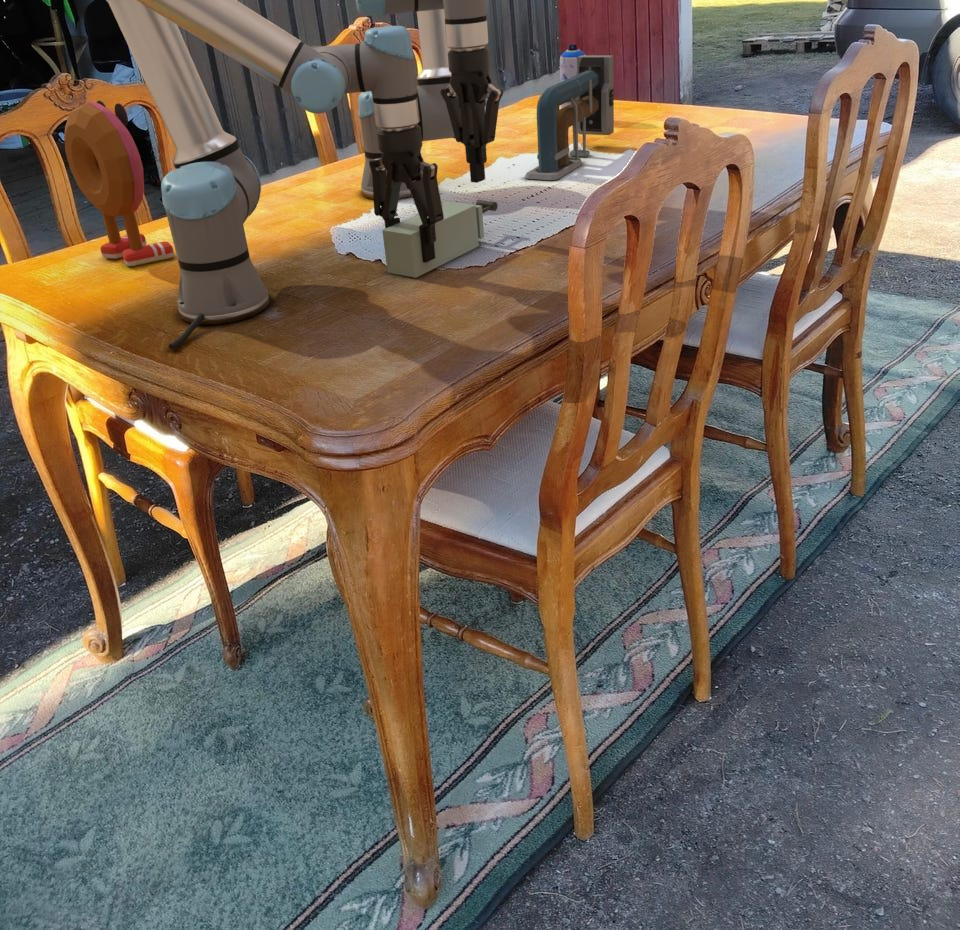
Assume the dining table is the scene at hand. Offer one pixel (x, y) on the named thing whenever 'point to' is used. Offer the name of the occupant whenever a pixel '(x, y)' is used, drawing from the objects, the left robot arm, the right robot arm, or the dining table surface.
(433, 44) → the right robot arm
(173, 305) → the dining table surface
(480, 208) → the drawer
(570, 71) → the aerosol can
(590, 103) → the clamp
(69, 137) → the toy
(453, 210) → the cabinet
